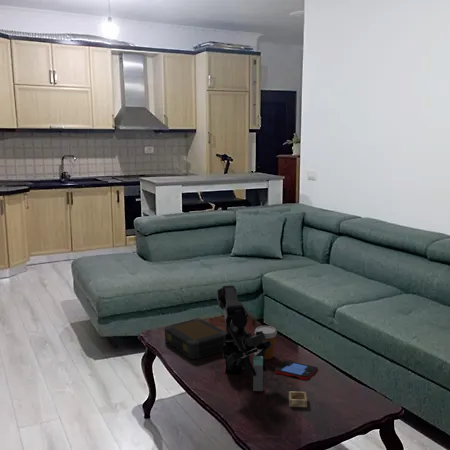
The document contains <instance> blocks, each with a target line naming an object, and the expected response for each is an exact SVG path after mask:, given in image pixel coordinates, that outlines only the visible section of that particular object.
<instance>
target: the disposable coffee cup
mask: <svg viewBox="0 0 450 450" xmlns="http://www.w3.org/2000/svg"><path fill="white" fill-rule="evenodd" d="M259 331H262V332H263V333H264V336H265V339H263V341H265V340H269V341H270V343H271V344H272V346H271V347H269V348H268V349H267V350H266V351H265V354H264V357H265V360H270V359H273V357H274V351H275V344H276V338H277V337H276V336H277V334H278V331H277V329H276V328H275V327H273V326H271V325H270V326H269V325H261V326H257V327H256V328H255V330H254V336H255V335H256V332H259Z"/></svg>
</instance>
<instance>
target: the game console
mask: <svg viewBox="0 0 450 450" xmlns="http://www.w3.org/2000/svg"><path fill="white" fill-rule="evenodd" d="M318 368H319V367H317V366H312V365H309V364H304V363H300V362H297V361H296V362H295V361H292V360H287V359H285V360H284V361H283V362H280V364H279V365H277V366H275V368H274V373H275V374H276V375H280V376H288V377H294V378H295V377H296V378H298V379H299V380H303V381H304V380H305V381H306V380H308V379H309V378H310V377H312V376H313V375H314V374H315V373H316V371H318V370H319V369H318Z"/></svg>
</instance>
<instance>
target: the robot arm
mask: <svg viewBox="0 0 450 450" xmlns="http://www.w3.org/2000/svg"><path fill="white" fill-rule="evenodd" d="M216 301H217V302H218V306H219V307H220V308H221V309H222V310H223V315H224V316H223V317H224V325H225V330H226V331H225V332H227V334H226V337H225V342H224V344H223V348H222V351H221V352H222V357H223V359H224V361H225V362H224V363H225V368H224V369H225V370H224V374H227V375H228V374H232V375H233V374H235V375H241V374H242V371H243V370H246V371H247V372H248V373H249V374H250V375H252V377H253V376H256V375H257V374H256V372H255V370H254V368H253V364H252V363H251V360H250V358H251V357H250V356H251V355H252V354H254V356H263V372H264V373H265V372H267V369H268V368H267V364H266V359H265V357H264V354H265V351H266V350H267V349H268V348H269V347H271V346H272V344H271V343H270V341H269V340H265V341H263V339H265V336H264V333H263V332H262V331H259V332H256V335H255V334H254V335H252V333H250V332H248V331H247V330H246V327H247V325H248V318H249V314H248V311H247V310H246V307H245V306H244V304H243V303H242V302H241V301H239V300H238V289H236V287H235V286H234V285H232V284H230V285H224V286H221V288H220V289H218V290H217V292H216Z"/></svg>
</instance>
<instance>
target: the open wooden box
mask: <svg viewBox="0 0 450 450" xmlns="http://www.w3.org/2000/svg"><path fill="white" fill-rule="evenodd" d="M288 404H289V408H308V397H307V391H295V390H294V391H293V390H292V391H291V390H290V391H288Z"/></svg>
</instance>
